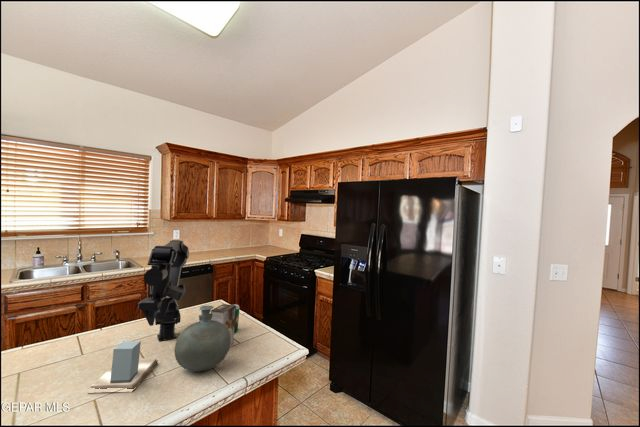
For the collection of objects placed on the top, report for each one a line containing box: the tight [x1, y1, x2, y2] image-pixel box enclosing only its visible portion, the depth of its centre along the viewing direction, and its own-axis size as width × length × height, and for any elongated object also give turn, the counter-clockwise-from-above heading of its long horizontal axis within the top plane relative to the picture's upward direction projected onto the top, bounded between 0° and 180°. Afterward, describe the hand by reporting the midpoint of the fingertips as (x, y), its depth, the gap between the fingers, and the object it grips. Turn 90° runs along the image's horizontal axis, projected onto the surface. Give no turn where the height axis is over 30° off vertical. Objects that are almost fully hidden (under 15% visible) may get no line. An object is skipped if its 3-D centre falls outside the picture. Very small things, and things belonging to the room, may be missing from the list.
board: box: [89, 358, 159, 389], centre depth 82 cm, size 16×12×2 cm
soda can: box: [234, 304, 241, 334], centre depth 121 cm, size 5×5×12 cm
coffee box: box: [210, 303, 237, 346], centre depth 106 cm, size 9×6×16 cm
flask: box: [174, 304, 232, 372], centre depth 89 cm, size 12×17×22 cm
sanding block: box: [110, 340, 141, 383], centre depth 79 cm, size 5×5×10 cm
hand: (157, 320), depth 96 cm, fingers open, 9 cm apart
